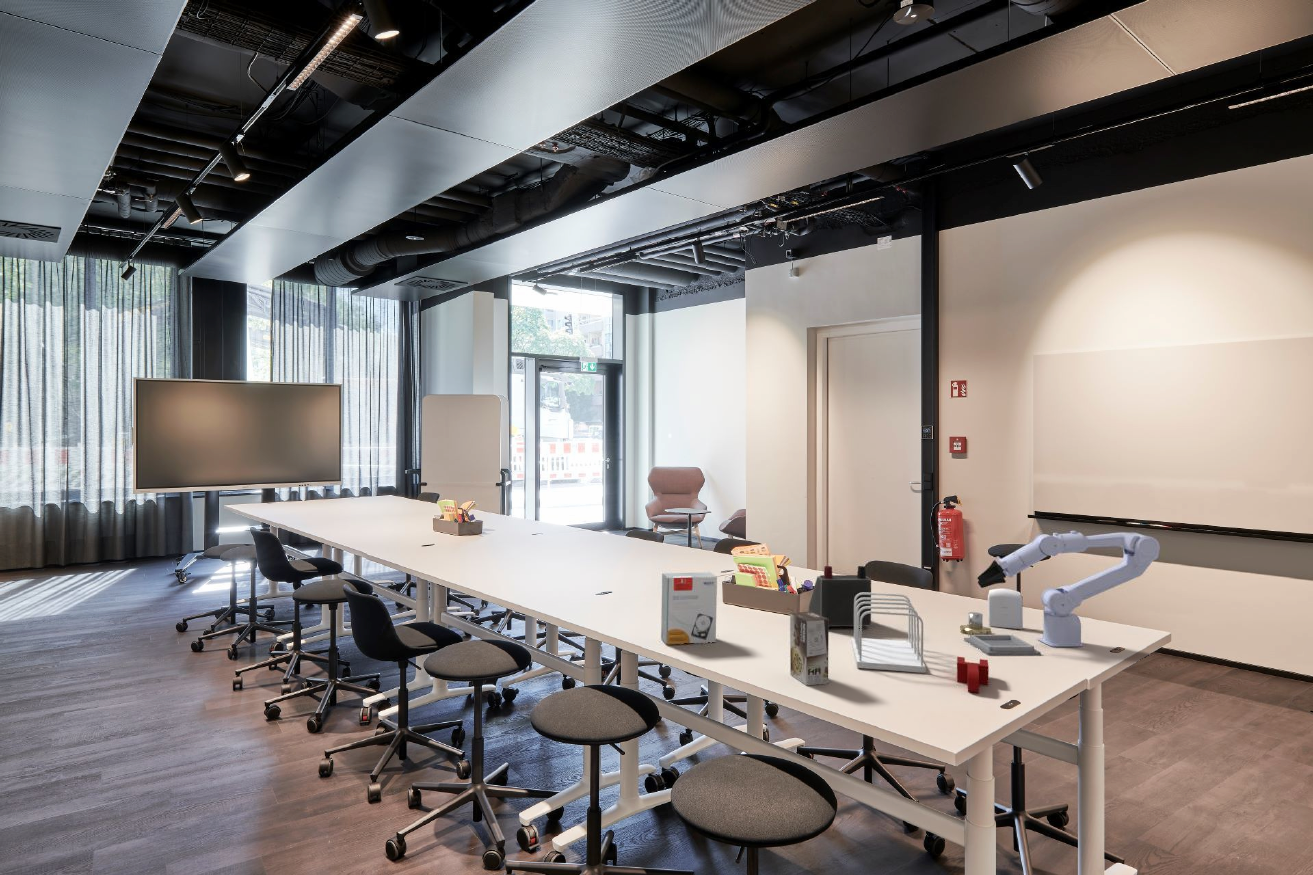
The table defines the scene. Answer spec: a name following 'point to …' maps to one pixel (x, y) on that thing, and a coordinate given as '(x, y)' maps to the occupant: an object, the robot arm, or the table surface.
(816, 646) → the coffee box
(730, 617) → the table surface
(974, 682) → the mechanical linkage
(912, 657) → the file sorter
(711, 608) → the hard drive box
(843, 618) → the voltmeter
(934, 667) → the table surface
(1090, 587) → the robot arm
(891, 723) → the table surface
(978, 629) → the planet gear
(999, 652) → the plate
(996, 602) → the photo printer
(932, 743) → the table surface
